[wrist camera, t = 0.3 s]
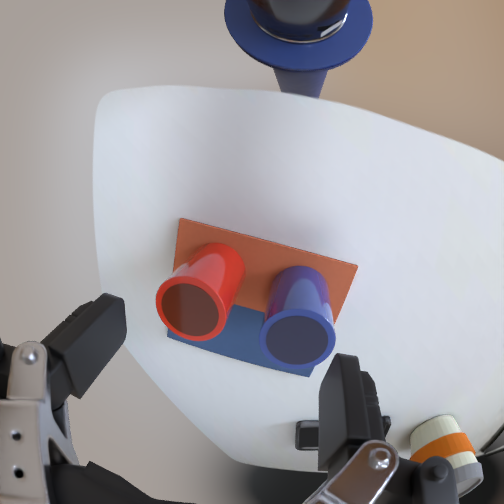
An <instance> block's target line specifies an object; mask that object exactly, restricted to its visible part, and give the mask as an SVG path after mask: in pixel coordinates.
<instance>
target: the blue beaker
mask: <svg viewBox="0 0 504 504" xmlns="http://www.w3.org/2000/svg"><path fill="white" fill-rule="evenodd" d="M335 341H336V336H335V328H334V321H333V314H332V308H331V301H330V295H329V289H328V285H327V282H326V280H325V278H324V277H323V276H322V275H321V274H320V273H319V272H318V271H316V270H315V269H313V268H310V267H307V266H292V267H289V268H286V269H284V270H283V271H281V272H280V273H279V274H278V275H277V276H276V277H275V278H274V280H273V281H272V284H271V287H270V292H269V296H268V300H267V304H266V308H265V312H264V316H263V320H262V325H261V329H260V333H259V345H260V348H261V350H262V352H263V353H264V355H265V356H266V357H267V358H268V359H269V360H270V361H272V362H273V363H275V364H277V365H279V366H281V367H284V368H289V369H305V368H310V367H313V366H315V365H318V364H319V363H321V362H323V361H324V360H325V359H326V358H327V357H328V356H329V355H330V354H331V352H332V350H333V348H334V346H335Z"/></svg>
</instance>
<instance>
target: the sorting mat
mask: <svg viewBox="0 0 504 504" xmlns="http://www.w3.org/2000/svg"><path fill="white" fill-rule="evenodd" d="M207 243H222V244H225V245H227V246H229V247H231V248H232V249H234V250H235V251H236V252H237V253H238V254H239V255H240V257H241V258H242V260H243V262H244V265H245V270H246V276H245V280H244V283H243V285H242V288H241V290H240V292H239V294H238V297H237V299H236V301H235V303H234V306H233V308H232V310H231V313H230V315H229V317H228V319H227V322H226V324H225V326H224V328H223V330H222V331H221V332H220V333H219V334H218V335H217V336H216V337H214V338H212V339H209V340H206V341H192V340H188V339H185V338H182V337H180V336H178V335H177V334H175V333H174V332H172V331H171V330H170V329H169V328H168V334H167V337H169V338H172V339H175V340H178V341H180V342H183V343H186V344H189V345H192V346H195V347H198V348H201V349H204V350H207V351H211V352H214V353H217V354H220V355H224V356H227V357H230V358H234V359H237V360H241V361H244V362H248V363H252V364H255V365H259V366H263V367H267V368H271V369H275V370H279V371H283V372H287V373H292V374H296V375H301V376H305V377H309V376H310V375H311V373H312V371H313V369H314V367H315V366H313V367H310V368H305V369H289V368H284V367H281V366H279V365H277V364H275V363H273V362H272V361H270V360H269V359H268V358H267V357H266V356H265V355H264V353H263V352H262V350H261V348H260V345H259V333H260V329H261V325H262V320H263V316H264V312H265V308H266V304H267V300H268V296H269V292H270V287H271V284H272V281H273V280H274V278H275V277H276V276H277V275H278V274H279V273H280V272H281V271H283V270H284V269H286V268H289V267H292V266H307V267H310V268H313V269H315V270H316V271H318V272H319V273H320V274H321V275H322V276H323V277H324V278H325V280H326V282H327V285H328V289H329V295H330V301H331V308H332V314H333V321H334V324H335V322H336V320H337V317H338V315H339V313H340V310H341V308H342V306H343V303H344V301H345V298H346V296H347V294H348V291H349V289H350V286H351V284H352V281H353V279H354V276H355V273H356V271H357V268H358V266H357V265H354V264H350V263H347V262H343V261H339V260H336V259H332V258H329V257H325V256H321V255H318V254H314V253H311V252H307V251H303V250H300V249H296V248H292V247H289V246H285V245H281V244H278V243H274V242H270V241H267V240H263V239H259V238H255V237H252V236H248V235H244V234H240V233H237V232H233V231H229V230H225V229H221V228H218V227H214V226H210V225H206V224H202V223H198V222H195V221H191V220H187V219H183V218H180V221H179V228H178V235H177V243H176V251H175V259H174V267H173V272H174V271H175V270H176V269H177V268H178V267H179V266H180V265H181V264H182V263H183V262H184V261H185V260H186V259H187V258H188V257H189V256H191V255H192V254H193V253H194V252H195V251H196V250H197V249H198V248H199V247H200V246H202V245H204V244H207Z"/></svg>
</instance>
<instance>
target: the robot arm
mask: <svg viewBox="0 0 504 504" xmlns="http://www.w3.org/2000/svg"><path fill="white" fill-rule="evenodd" d="M246 1H247V3H248V5H249V8H250V12H251V15H252V17H253V20H254V22H255V23H256V25H257V26H258V27H259V28H260V29H261V30H262V31H263V32H264V33H266V34H267V35H269V36H270V37H272V38H274V39H277V40H279V41H282V42H286V43H291V44H303V45H304V44H314V43H319V42H322V41H325V40H327V39H329V38H331V37H332V36H334V35H335V34H337V33H338V32H339V31H340V29H341V28H342V27H343V25H344V23H345V20H346V17H347V11H348V7H349V5H350V2H351V0H246ZM126 333H127V327H126V316H125V304H124V300H123V299H122V298H120V297H117V296H114V295H111V294H108V293H103V294H102V295H101V296H100V297H99V298H98V299H96V300H95V301H94V302H93V301H90V302H88V303H86V304H83V305H81V306H79V307H78V308H77V309H76V310H75V311H74V312H73V313H72V315H69V316H68V317H67V318H66V319H65V321H63V322H62V323H61V324H59V325H58V326H57V327H56V328H55V329H54V330H53V331H52V332H51V333H50V334H49V335H48V336H46V337H45V338H44V339H43V340H42V341H41V342H40V343H39V342H36V341H27V342H24V343H22V344H20V345H18V346H17V347H14V346H10V345H7V344H3V343H2V341H1V339H0V504H194V503H182V502H172V501H165V500H157V499H154V498H151V497H149V496H148V495H146V494H145V493H143V492H142V491H140V490H139V489H138V488H136V487H134V486H133V485H132V484H130V483H129V482H128V481H126V480H125V479H124V478H122V477H121V476H119V475H117V474H115V473H113V472H111V471H109V470H106V469H104V468H103V467H101V466H99V465H96V464H95V463H93V462H91V461H89V463H88V464H87V466H80V465H79V461H78V458H77V455H76V453H75V450H74V448H73V444H72V439H71V432H70V423H69V414H68V403H67V400H66V399H67V397H68V396H69V395H70V394H71V395H73V396H75V397H77V398H78V399H81V398H82V396H83V395H84V393H85V392H86V391H87V389H88V388H89V387H90V386H91V384H92V383H93V382H94V380H95V379H96V378H97V376H98V375H99V374H100V372H101V371H102V370H103V368H104V367H105V366H106V364H107V363H108V362H109V361H110V359H111V358H112V357H113V356H114V354H115V353H116V352H117V350H118V349H119V348H120V347H121V345H122V344H123V342H124V340H125V338H126ZM378 404H379V402H378V397H377V392H376V387H375V382H374V381H373V379H372V378H371V376H370V375H369V374H368V372H365V371H360V366H359V360H358V357H357V356H352V355H346V354H340V353H337V354H336V355H335V356H334V358H333V360H332V362H331V364H330V367H329V369H328V371H327V373H326V375H325V377H324V379H323V381H322V383H321V386H320V391H319V448H318V471H328V479H327V480H326V481H325V482H324V483H323V484H322V485H321V486H320V488H319V489H317V490H316V492H314V493H313V494H312V495H311V496H310V497H309V498H308V499H307V500H306V501H305V502H304V503H303V504H459V499H458V492H457V485H456V479H455V474H454V469H453V467H452V465H451V463H450V462H449V461H448V460H447V459H445V458H443V457H440V456H432V457H430V458H428V459H427V460H425V461H424V462H423V463H419V462H415V461H411V460H407V459H403V458H401V457H399V456H398V453H397V451H396V450H395V448H394V447H393V446H392V445H390V444H389V443H387V442H386V440H385V435H384V429H383V423H382V417H381V412H380V407H379V406H378Z"/></svg>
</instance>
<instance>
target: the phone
mask: <svg viewBox="0 0 504 504" xmlns="http://www.w3.org/2000/svg"><path fill="white" fill-rule="evenodd" d="M382 423H383V429H384V435H385V437H386V435H387V433H388V430H389V428H390V426H391V420H390V417H388V416H384V417H382ZM295 448H296V449H297V450H304V451H306V450H318V448H319V421H301V422H299V423H297V425H296V444H295Z"/></svg>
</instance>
